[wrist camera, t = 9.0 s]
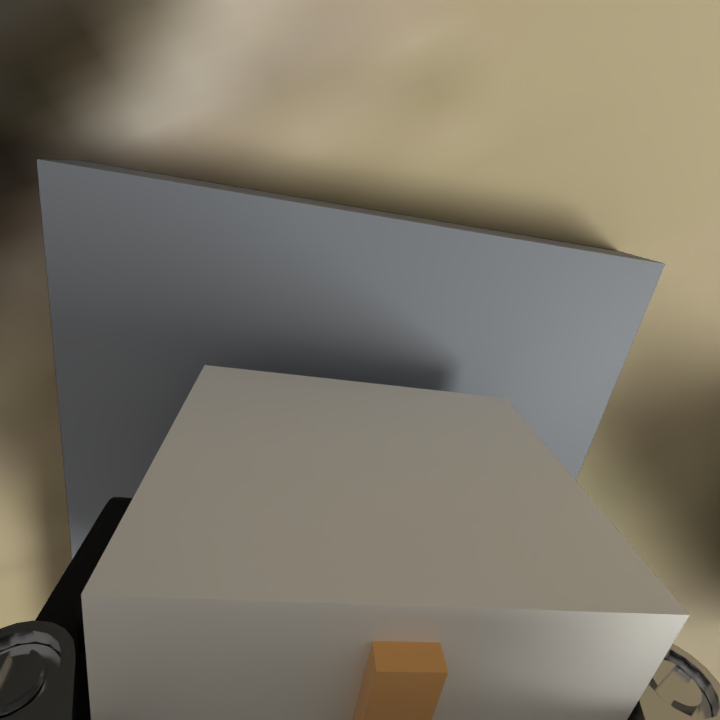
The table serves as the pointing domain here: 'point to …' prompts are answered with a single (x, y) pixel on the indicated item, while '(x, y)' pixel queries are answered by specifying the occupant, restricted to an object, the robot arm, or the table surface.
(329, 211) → the base
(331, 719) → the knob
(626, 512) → the table surface
